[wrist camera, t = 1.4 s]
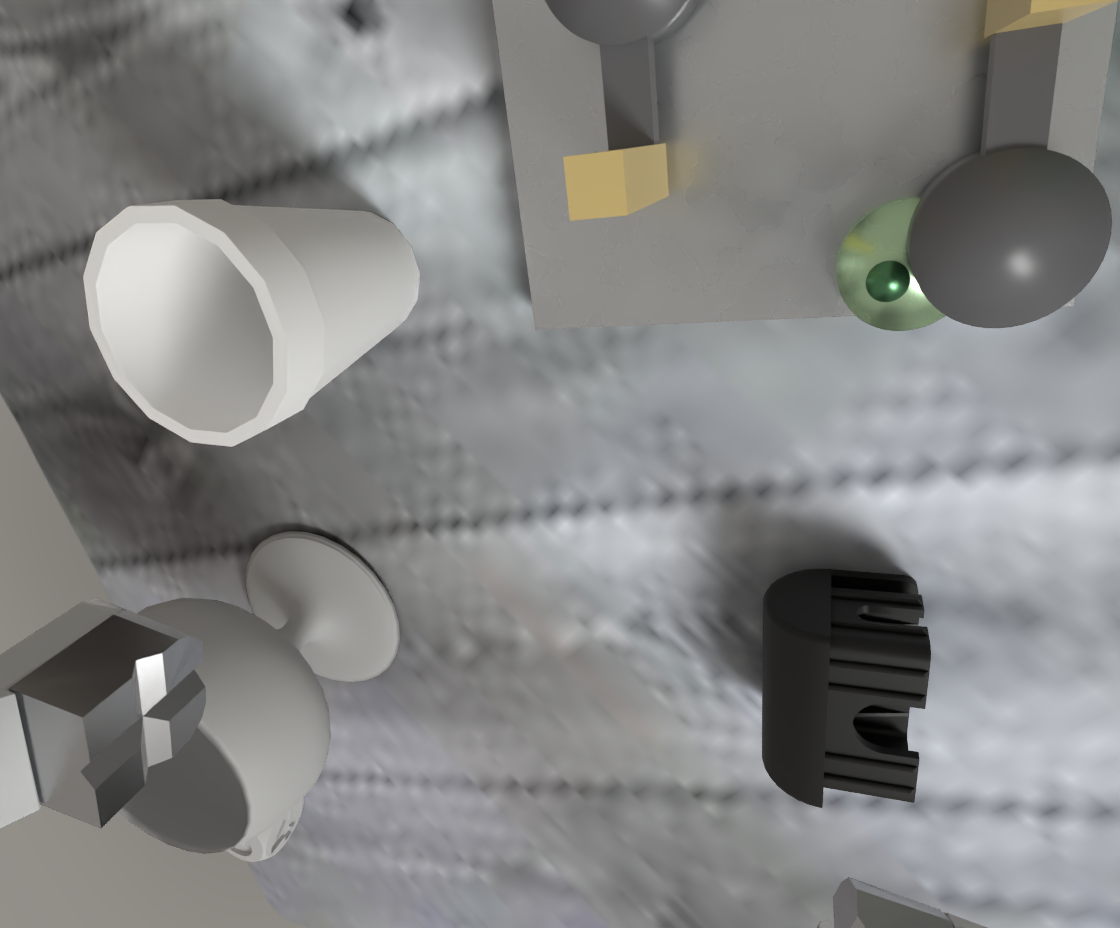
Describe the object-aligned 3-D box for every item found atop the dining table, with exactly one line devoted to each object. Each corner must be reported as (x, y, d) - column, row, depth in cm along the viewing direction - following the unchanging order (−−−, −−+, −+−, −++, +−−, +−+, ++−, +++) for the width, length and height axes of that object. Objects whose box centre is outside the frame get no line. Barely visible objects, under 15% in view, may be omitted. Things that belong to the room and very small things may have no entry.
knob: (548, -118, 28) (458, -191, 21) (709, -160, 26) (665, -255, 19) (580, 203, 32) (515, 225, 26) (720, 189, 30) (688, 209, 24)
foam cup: (292, 160, 39) (70, 177, 27) (454, 199, 37) (286, 235, 25) (292, 334, 43) (100, 410, 32) (436, 378, 41) (286, 475, 30)
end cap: (769, 555, 39) (757, 632, 33) (918, 567, 37) (934, 651, 31) (767, 706, 43) (756, 798, 37) (902, 725, 41) (914, 827, 35)
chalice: (451, 614, 48) (309, 798, 35) (360, 720, 55) (214, 905, 42) (282, 475, 48) (76, 608, 35) (213, 599, 55) (21, 747, 42)
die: (305, 781, 60) (264, 832, 56) (303, 820, 63) (264, 872, 58) (253, 756, 61) (209, 805, 57) (253, 796, 64) (210, 845, 59)
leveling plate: (1152, -372, 22) (1191, -434, 20) (1058, 307, 30) (1078, 324, 28) (487, -175, 30) (456, -202, 27) (550, 329, 38) (530, 344, 35)
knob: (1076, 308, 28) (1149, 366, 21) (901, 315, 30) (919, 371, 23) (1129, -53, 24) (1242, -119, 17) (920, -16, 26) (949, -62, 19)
